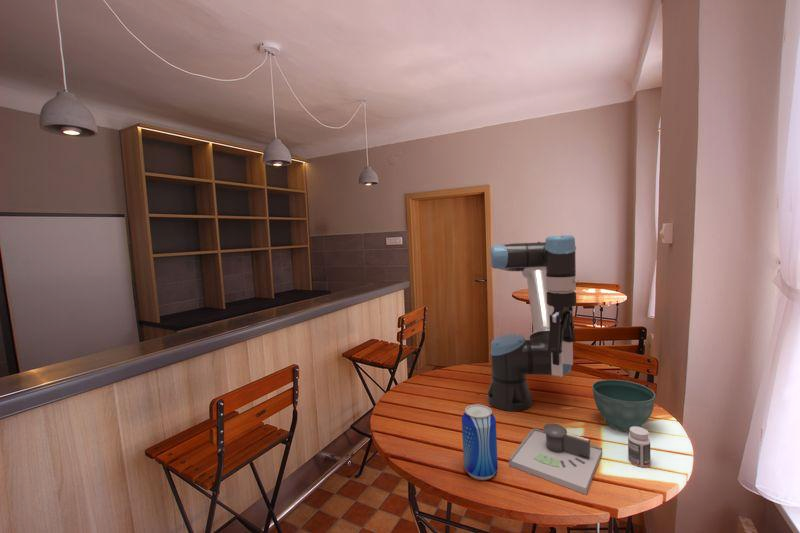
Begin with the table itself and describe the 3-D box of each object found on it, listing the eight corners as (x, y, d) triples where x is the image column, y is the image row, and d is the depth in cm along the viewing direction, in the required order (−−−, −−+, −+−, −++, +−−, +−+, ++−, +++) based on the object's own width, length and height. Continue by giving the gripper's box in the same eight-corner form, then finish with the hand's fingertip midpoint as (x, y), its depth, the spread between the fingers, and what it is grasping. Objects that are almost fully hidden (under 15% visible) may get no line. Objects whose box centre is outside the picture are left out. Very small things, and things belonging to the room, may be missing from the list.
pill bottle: (647, 457, 92) (647, 426, 91) (653, 469, 88) (653, 436, 87) (625, 454, 94) (625, 424, 93) (631, 466, 89) (630, 434, 89)
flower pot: (581, 421, 111) (580, 387, 110) (611, 406, 119) (611, 375, 118) (636, 445, 97) (636, 407, 96) (666, 427, 105) (666, 392, 104)
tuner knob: (540, 448, 95) (540, 430, 95) (547, 438, 100) (547, 421, 100) (587, 463, 88) (586, 444, 88) (592, 452, 93) (591, 433, 92)
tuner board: (509, 465, 92) (508, 458, 92) (533, 433, 106) (533, 427, 106) (586, 494, 80) (585, 486, 80) (602, 454, 94) (601, 447, 94)
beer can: (460, 462, 94) (457, 404, 93) (491, 459, 95) (489, 401, 94) (469, 484, 86) (466, 420, 85) (503, 480, 87) (500, 417, 85)
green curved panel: (532, 459, 91) (532, 459, 91) (543, 443, 98) (543, 442, 98) (581, 476, 84) (581, 475, 84) (589, 457, 91) (589, 456, 91)
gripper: (564, 298, 88) (566, 386, 90) (585, 286, 105) (586, 359, 107) (533, 296, 93) (535, 380, 94) (558, 285, 110) (560, 355, 111)
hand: (562, 369), depth 100 cm, fingers open, 10 cm apart
